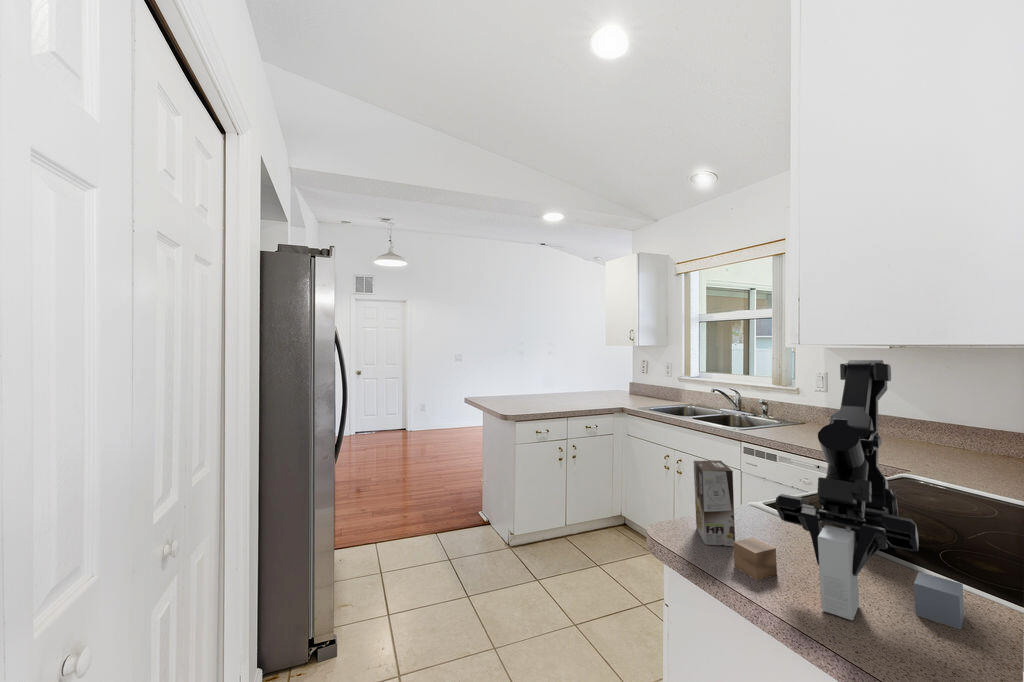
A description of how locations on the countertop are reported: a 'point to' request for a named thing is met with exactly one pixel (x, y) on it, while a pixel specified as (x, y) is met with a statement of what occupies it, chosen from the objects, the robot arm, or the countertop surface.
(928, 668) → the countertop surface
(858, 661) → the countertop surface
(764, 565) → the walnut block
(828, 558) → the skincare box
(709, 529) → the coffee box
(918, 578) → the slate block
